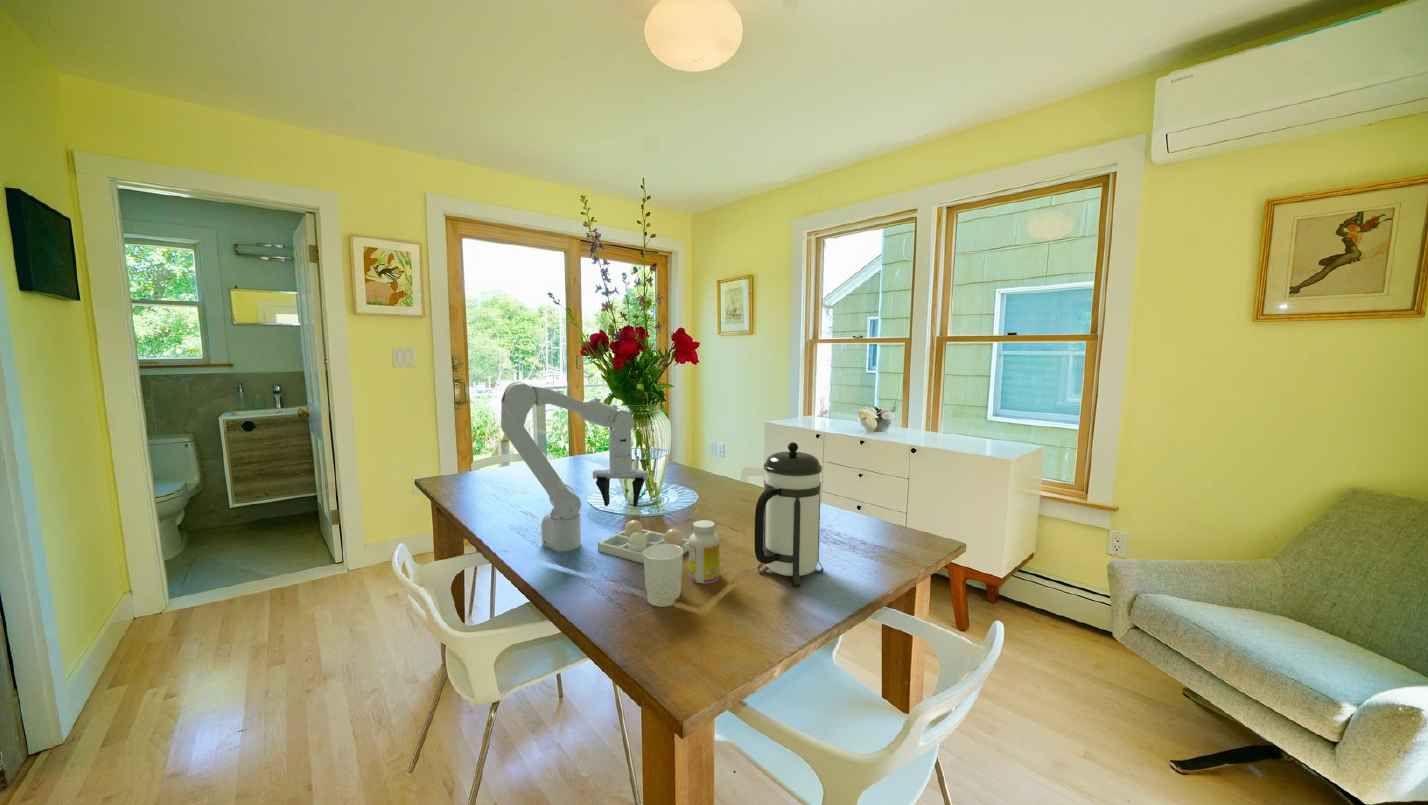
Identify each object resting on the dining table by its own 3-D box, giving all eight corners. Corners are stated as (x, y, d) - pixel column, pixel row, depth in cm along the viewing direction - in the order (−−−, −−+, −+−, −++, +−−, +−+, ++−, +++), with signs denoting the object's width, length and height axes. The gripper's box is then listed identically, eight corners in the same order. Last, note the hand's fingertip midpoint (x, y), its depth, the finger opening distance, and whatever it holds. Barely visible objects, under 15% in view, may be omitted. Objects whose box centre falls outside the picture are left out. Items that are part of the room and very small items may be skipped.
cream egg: (624, 555, 117) (624, 533, 116) (636, 549, 120) (635, 527, 120) (638, 559, 114) (638, 537, 114) (650, 552, 118) (650, 531, 118)
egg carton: (598, 554, 119) (597, 542, 119) (631, 537, 131) (631, 526, 130) (661, 572, 110) (661, 559, 110) (692, 552, 121) (692, 540, 121)
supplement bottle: (723, 576, 108) (723, 520, 107) (713, 589, 102) (713, 530, 101) (695, 571, 110) (695, 517, 109) (684, 584, 104) (684, 526, 103)
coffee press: (752, 557, 118) (753, 436, 115) (818, 559, 117) (821, 437, 114) (753, 592, 101) (755, 450, 98) (831, 594, 100) (835, 451, 97)
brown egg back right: (660, 551, 119) (660, 530, 118) (670, 545, 123) (670, 524, 122) (675, 555, 117) (675, 533, 116) (685, 549, 121) (685, 528, 120)
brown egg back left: (621, 541, 125) (621, 521, 124) (632, 536, 129) (632, 516, 128) (635, 545, 123) (634, 524, 122) (645, 539, 127) (645, 519, 126)
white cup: (677, 610, 93) (676, 561, 92) (638, 606, 95) (637, 557, 94) (687, 591, 101) (687, 545, 100) (651, 587, 103) (651, 542, 102)
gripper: (588, 457, 123) (589, 509, 125) (644, 458, 122) (645, 510, 124) (596, 452, 130) (597, 501, 132) (650, 452, 129) (650, 502, 131)
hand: (621, 505), depth 128 cm, fingers open, 7 cm apart
